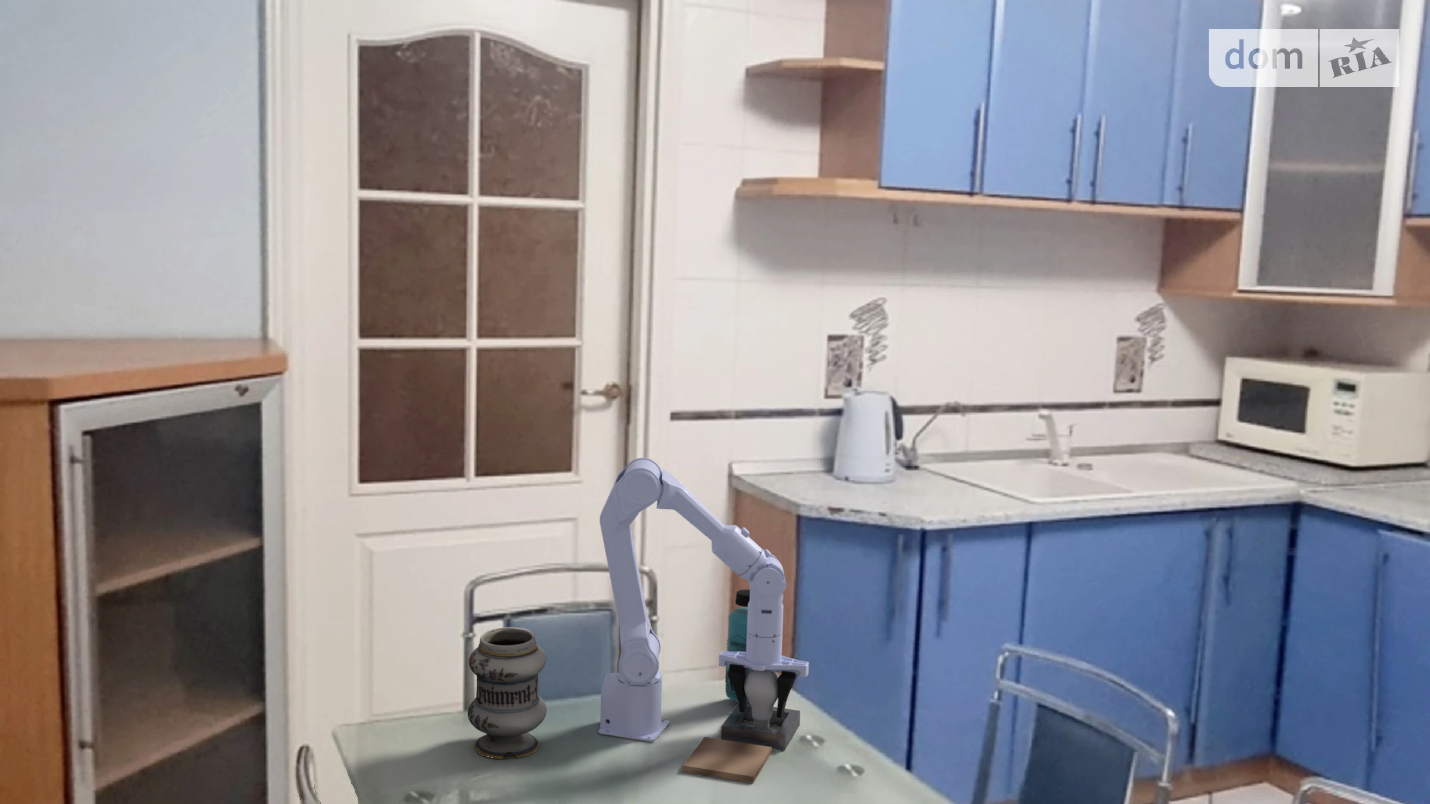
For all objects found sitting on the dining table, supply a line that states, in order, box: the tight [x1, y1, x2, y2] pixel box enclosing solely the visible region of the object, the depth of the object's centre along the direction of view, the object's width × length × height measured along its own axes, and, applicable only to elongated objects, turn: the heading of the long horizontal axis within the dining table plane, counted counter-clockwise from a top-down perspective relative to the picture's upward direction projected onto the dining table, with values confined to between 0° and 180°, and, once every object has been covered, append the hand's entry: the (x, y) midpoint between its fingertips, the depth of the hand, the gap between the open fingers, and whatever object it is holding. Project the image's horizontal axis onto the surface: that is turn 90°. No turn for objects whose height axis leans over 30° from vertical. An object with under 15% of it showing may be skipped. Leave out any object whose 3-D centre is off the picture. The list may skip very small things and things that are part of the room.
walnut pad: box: [682, 736, 772, 784], centre depth 184 cm, size 11×11×1 cm
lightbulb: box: [744, 670, 780, 729], centre depth 195 cm, size 6×6×11 cm
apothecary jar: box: [467, 626, 548, 760], centre depth 186 cm, size 12×12×18 cm
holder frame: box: [720, 702, 801, 751], centre depth 195 cm, size 10×10×2 cm
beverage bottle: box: [724, 588, 752, 702], centre depth 206 cm, size 6×7×20 cm
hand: (761, 712), depth 195 cm, fingers closed on lightbulb, 6 cm apart
